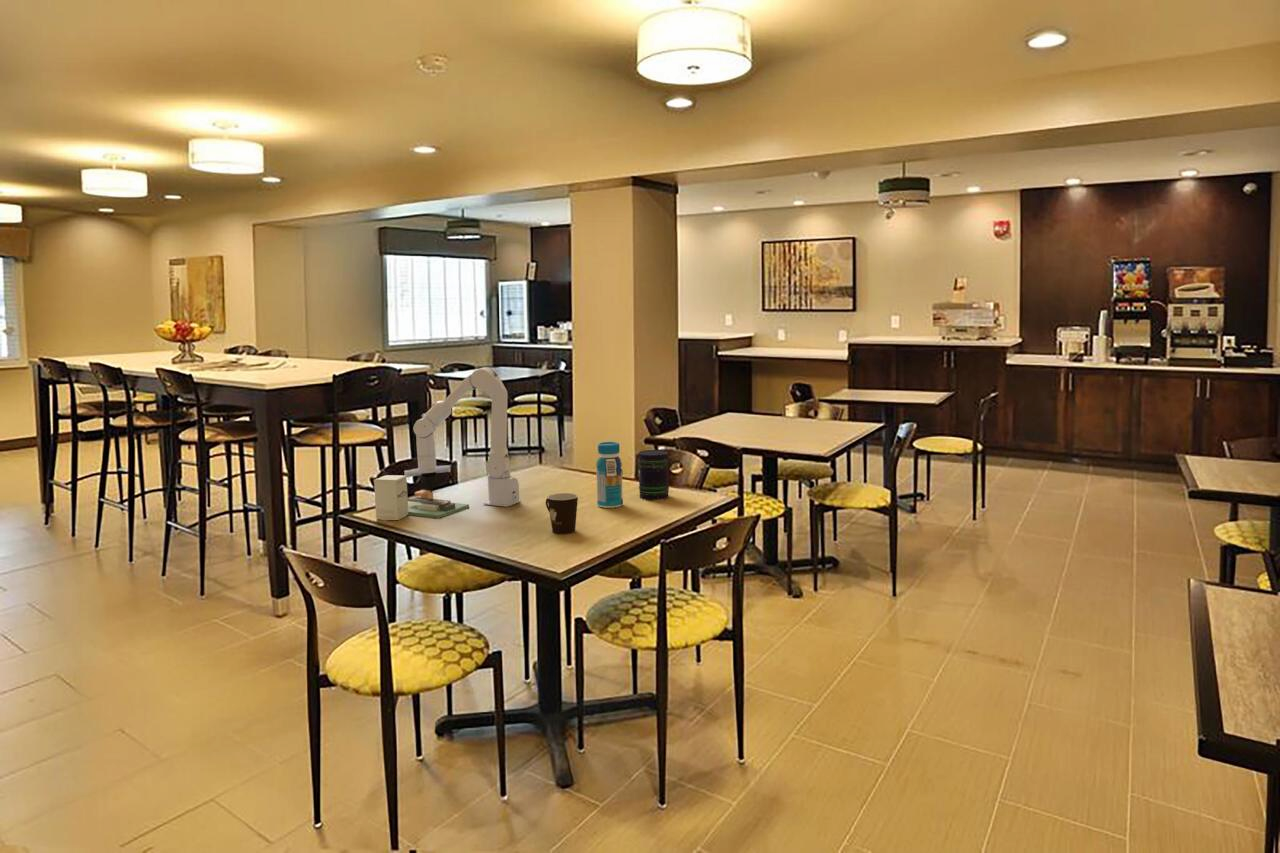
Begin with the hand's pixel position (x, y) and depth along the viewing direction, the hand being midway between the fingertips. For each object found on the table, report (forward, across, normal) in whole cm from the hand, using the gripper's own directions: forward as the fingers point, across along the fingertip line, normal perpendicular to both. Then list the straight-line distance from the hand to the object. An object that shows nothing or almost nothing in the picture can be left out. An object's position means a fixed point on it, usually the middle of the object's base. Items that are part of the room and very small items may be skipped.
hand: (429, 496), depth 277 cm
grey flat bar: (0, -3, -9) cm, 9 cm away
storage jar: (+3, +66, -33) cm, 73 cm away
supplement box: (+2, -15, -12) cm, 19 cm away
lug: (+1, -2, -2) cm, 3 cm away
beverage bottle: (+3, +48, -35) cm, 60 cm away
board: (+2, -2, -9) cm, 10 cm away
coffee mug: (+2, +23, -54) cm, 59 cm away
